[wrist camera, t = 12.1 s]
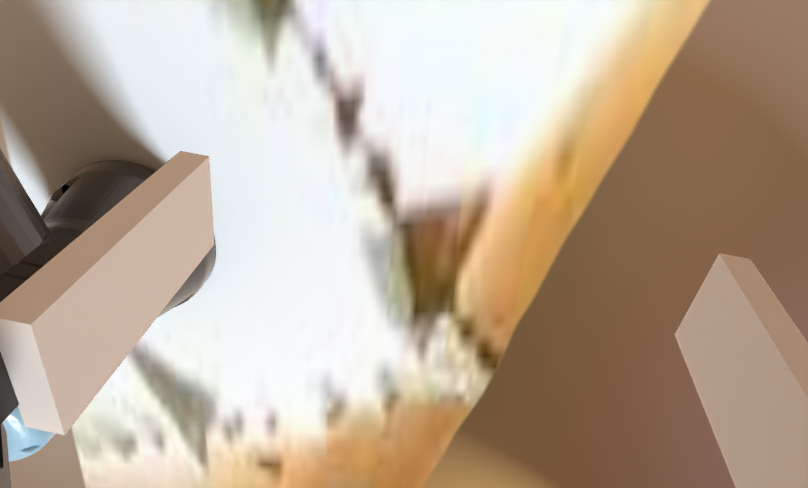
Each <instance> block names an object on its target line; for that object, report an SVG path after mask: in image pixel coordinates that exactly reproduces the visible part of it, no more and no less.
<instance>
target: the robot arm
mask: <svg viewBox="0 0 808 488" xmlns="http://www.w3.org/2000/svg"><path fill="white" fill-rule="evenodd" d="M215 258H216V248H215V241H214V232H213V215H212V198H211V181H210V164H209V156H204V155H199V154H194V153H188V152H183V151H180V152H179V153H177V154H176V155H175V156H174V157H173V158H171V159H170V160H169V161H168V162H167V163H166V164H164V165H163V166H162V167H161V168H160V169H158V170H157V171H156V172H155V171H153V170H151V169H149V168H146V167H143V166H141V165H137V164H134V163H129V162H123V161H102V162H97V163H94V164H91V165H88V166H86V167H84V168H83V169H81V170H80V171H78V172H77V173H75V174H74V175H72V176H71V177H69V178H68V179H66V180H65V181H64V182H63V183H62V184H61V185H60V186H59V187H58V188H57V190H56V191H55V193H54V194H53V196H52V198H51V200H50V201H49V203H48V204H47V206H46V208H45V210H44V211H43V213H42V215H41V216H40V214H39V212H38V211H37V209H36V207H35V206H34V204H33V203H32V201H31V199H30V198H29V196H28V194H27V193H26V191H25V190H24V188H23V186H22V184H21V183H20V181H19V179H18V178H17V176H16V174H15V173H14V171H13V169H12V168H11V166H10V164H9V163H8V161H7V159H6V157H5V156H4V154H3V152H2V151H1V149H0V488H11V481H10V469H9V461H15V460H19V459H22V458H25V457H27V456H30V455H32V454H34V453H36V452H37V451H38V450H40V449H41V448H42V447H43V446H44V445H45V444H47V442H48V441H49V440H50V439H51V438H52V437H53V436H54V435H55V434H56V433H57V434H62V435H65V434H66V433H67V431H68V430H69V429H70V428H71V426H72V425H73V424H74V423H75V421H76V420H77V419H78V417H79V416H80V415H81V414H82V412H83V411H84V410H85V409H86V407H87V406H88V405H89V403H90V402H91V401H92V400H93V398H94V397H95V396H96V395H97V393H98V392H99V391H100V389H101V388H102V387H103V386H104V384H105V383H106V382H107V381H108V379H109V378H110V377H111V375H112V374H113V373H114V372H115V370H116V369H117V368H118V366H119V365H120V364H121V363H122V361H123V360H124V359H125V358H126V356H127V355H128V354H129V352H130V351H131V350H132V349H133V347H134V346H135V345H136V344H137V342H138V341H139V340H140V338H141V337H142V336H143V335H144V333H145V332H146V331H147V330H148V328H149V327H150V326H151V324H152V323H153V322H154V321H155V319H156V318H157V317H159V316H161V315H162V314H164V313H166V312H167V311H169V310H170V309H172V308H174V307H176V306H178V305H180V304H182V303H184V302H186V301H188V300H189V299H190V298H191V297H193V296H194V295H195V294H196V293H197V292H198V290H199V289H200V288H201V287H202V285H203V284H204V283H205V281H206V280H207V279H208V277H209V276H210V274H211V272H212V270H213V267H214V264H215ZM675 337H676V339H677V342H678V344H679V347H680V350H681V352H682V355H683V357H684V359H685V362H686V364H687V367H688V370H689V372H690V375H691V377H692V379H693V382H694V385H695V387H696V390H697V392H698V395H699V397H700V400H701V402H702V405H703V407H704V410H705V412H706V414H707V417H708V420H709V422H710V425H711V427H712V430H713V432H714V435H715V437H716V439H717V442H718V445H719V447H720V450H721V452H722V454H723V457H724V459H725V462H726V465H727V467H728V469H729V472H730V474H731V477H732V480H733V482H734V485H735V487H736V488H808V343H807V342H806V340H805V339H804V337H803V336H802V334H801V333H800V332H799V330H798V328H797V327H796V326H795V324H794V323H793V321H792V320H791V318H790V317H789V315H788V314H787V312H786V311H785V309H784V308H783V306H782V305H781V304H780V302H779V301H778V299H777V298H776V296H775V295H774V293H773V292H772V290H771V289H770V287H769V286H768V285H767V283H766V282H765V280H764V279H763V277H762V276H761V274H760V273H759V271H758V270H757V268H756V267H755V266H754V264H753V263H752V261H751V260H750V259H746V258H741V257H735V256H730V255H725V254H719V255H718V257H717V259H716V260H715V262H714V264H713V266H712V268H711V269H710V271H709V273H708V275H707V277H706V279H705V280H704V282H703V284H702V286H701V288H700V290H699V291H698V293H697V295H696V297H695V299H694V300H693V302H692V304H691V306H690V308H689V309H688V311H687V313H686V315H685V317H684V319H683V320H682V322H681V324H680V326H679V328H678V330H677V331H676V333H675Z"/></svg>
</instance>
